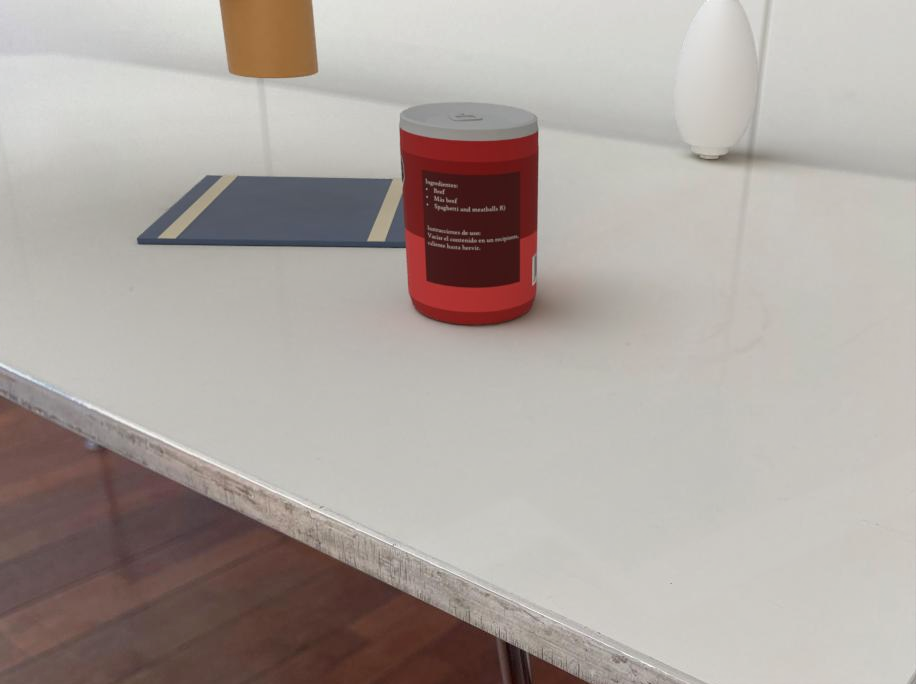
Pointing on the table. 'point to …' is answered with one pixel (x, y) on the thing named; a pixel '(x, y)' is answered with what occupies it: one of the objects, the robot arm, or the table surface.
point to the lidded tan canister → (269, 38)
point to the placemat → (285, 213)
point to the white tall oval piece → (716, 79)
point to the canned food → (470, 210)
